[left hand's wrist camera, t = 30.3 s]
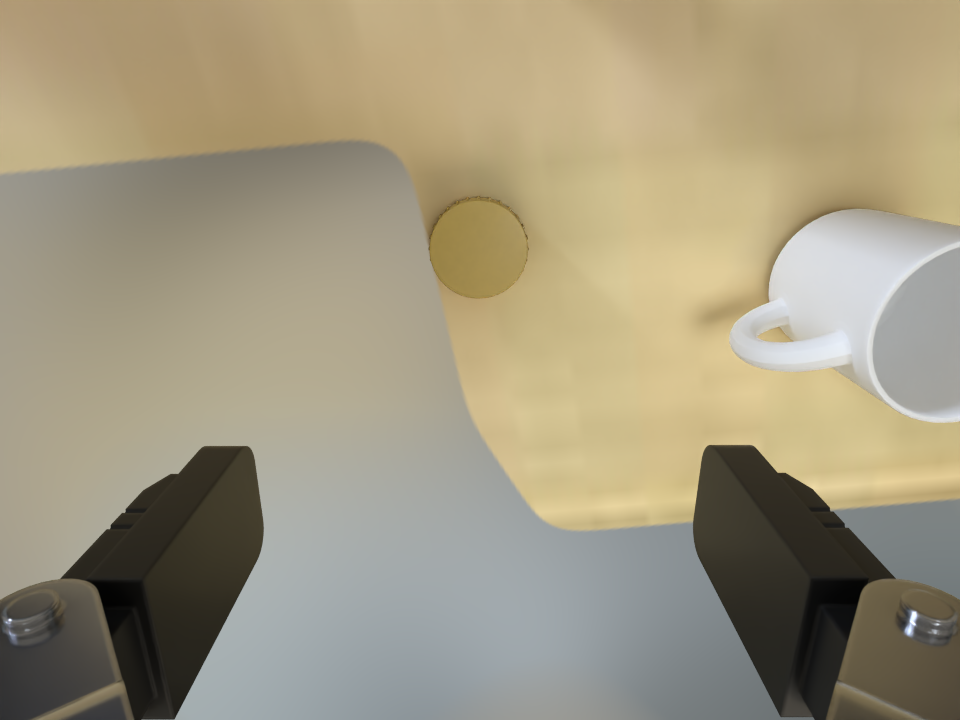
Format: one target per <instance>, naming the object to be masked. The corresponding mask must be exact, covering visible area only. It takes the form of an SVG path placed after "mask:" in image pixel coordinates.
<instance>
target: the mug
mask: <svg viewBox="0 0 960 720" xmlns="http://www.w3.org/2000/svg"><path fill="white" fill-rule="evenodd" d="M776 327H780V328H781V329H782V330H783V332H784V333H785V334H786V335H787V336H788V337H789V338H790V339H791V340H793V341H794V342H768V341H764V340H761V339H759V338H757V336H758V335H760V334H762V333H764V332H766V331H768V330H770V329H773V328H776ZM729 343H730V346H731V348H732V350H733V352H734V353H735V354H736V355H737V356H738V357H739V358H740V359H742V360H743V361H745V362H746V363H748V364H750V365H752V366H755V367H759V368H762V369H767V370H773V371H783V372H802V371H813V370H821V369H826V368H833V369H835V370H836V371H838V372H839V373H841V374H842V375H844V376H845V377H847V378H848V379H850V380H851V381H853V382H854V383H855V384H857V385H858V386H860V387H861V388H863V389H864V390H866V391H867V392H869V393H870V394H872V395H873V396H875V397H876V398H878V399H879V400H881V401H882V402H884V403H885V404H887V405H888V406H890V407H891V408H893V409H895V410H896V411H898V412H899V413H901V414H903V415H906V416H908V417H910V418H914V419H917V420H921V421H928V422H942V423H947V422H957V421H960V226H956V225H951V224H946V223H941V222H936V221H931V220H926V219H921V218H916V217H911V216H905V215H900V214H895V213H890V212H885V211H879V210H872V209H848V210H841V211H836V212H832V213H830V214H827V215H824V216H822V217H820V218H818V219H816V220H814V221H812V222H811V223H809V224H808V225H806V226H805V227H803V228H802V229H801V230H800V231H799V232H797V233H796V234H795V235H794V236H793V237H792V238H791V239H790V240H789V241H788V243H787V244H786V245H785V247H784V248H783V249H782V251H781V253H780V254H779V256H778V258H777V260H776V262H775V264H774V266H773V270H772V273H771V276H770V282H769V303H766V304H764V305H761V306H759V307H757V308H755V309H753V310H751V311H749V312H748V313H746V314H745V315H743V316H742V317H741V318H740V319H739V320H737V322H736V323H735V324H734V325H733V327H732V330H731V332H730V337H729Z"/></svg>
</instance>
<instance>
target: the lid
mask: <svg viewBox="0 0 960 720" xmlns="http://www.w3.org/2000/svg"><path fill="white" fill-rule="evenodd" d="M518 219H519V217H518V215H515V214H514V213H513V212H512V211H511V208H510V207H506V206H505V205H503V204H502V203H501V201H499V202H498V201H495V200H492V199H491V197H489V198H481V197H480V196H478V197H476V198H469V197H467V199H465V200H462V201H456V204H454V205H452V206H451V207H449V206H448V207H447V209H446V211H445V212H444V213H443V214H442V215H441V214H440V216H439V220H438V222H437V224H434V226H433V228H434V230H433V233H432V234H431V236H430V239H431V240H430V246H429V250H430V261H431V263H432V266H433V268H434V271H435V272H436V274H437V276H438V277H439V279H440V280H441V281H442V282H443V283H444V284H445V285H446V286H447V287H448V288H449V289H451V290H452V291H454V292H455V293H458V294H460V295H462V296H465V297H470V298H488V297H492V296H495V295H498V294H500V293H502V292H504V291H505V290H507V289H508V288H509V287H511V286H512V285H513V284H514V283H515V282H516V281H517V279H518V278H519V276H520V275H521V273H522V272H523V269H524V267H525V264H526V261H527V253H528V250H529V248H528V246H527V239H528V237H527V235H526V234H525V232H524V226H523V224H521V223H520V221H519V220H518Z"/></svg>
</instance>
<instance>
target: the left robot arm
mask: <svg viewBox="0 0 960 720" xmlns="http://www.w3.org/2000/svg"><path fill="white" fill-rule="evenodd" d="M263 532H264V527H263V516H262V509H261V502H260V495H259V487H258V480H257V473H256V466H255V459H254V455H253V452H252V450H251V449H250V448H249V447H248V446H204V447H202V448H201V449H200V450H199V451H198V452H197V453H196V455H195V456H194V457H193V458H192V459H191V460H190V461H189V462H188V464H187V465H186V466H185V467H184V468H183V469H182V471H181V472H180V473H179V474H170V475H168V476H167V477H165V478H163V479H162V480H160V481H158V482H157V483H155V484H153V485H152V486H150V487H148V488H146V489H145V490H143V491H142V492H141V493H140V494H139V496H138V497H137V498H136V499H135V500H134V501H133V502H132V503H131V504H130V505H129V506H128V507H127V508H126V512H125V513H122V514H121V515H120V516H119V517H118V518H117V519H116V520H115V521H114V522H113V523H112V524H111V528H110V529H107V530H106V531H105V532H104V533H103V534H102V535H101V536H100V537H99V538H98V539H97V540H96V541H95V542H94V543H93V545H92V546H91V547H90V548H89V549H88V550H87V551H86V552H85V553H84V554H83V555H82V556H81V557H80V558H79V559H78V561H77V562H76V563H75V564H74V565H73V566H72V567H71V568H70V569H69V570H68V571H67V572H66V573H65V574H64V575H63V576H62V578H61V579H58V580H51V581H46V582H42V583H38V584H35V585H32V586H29V587H26V588H24V589H21V590H19V591H16V592H14V593H12V594H10V595H8V596H6V597H4V598H3V599H1V600H0V720H141V719H175V717H176V715H177V713H178V711H179V709H180V708H181V706H182V704H183V702H184V700H185V698H186V696H187V694H188V692H189V690H190V688H191V686H192V685H193V683H194V681H195V679H196V677H197V675H198V673H199V671H200V669H201V667H202V665H203V663H204V661H205V660H206V658H207V656H208V654H209V652H210V650H211V648H212V646H213V644H214V642H215V640H216V638H217V636H218V635H219V633H220V631H221V629H222V627H223V625H224V623H225V621H226V619H227V617H228V615H229V613H230V611H231V610H232V608H233V606H234V604H235V602H236V600H237V598H238V596H239V594H240V592H241V590H242V588H243V586H244V585H245V583H246V581H247V579H248V577H249V575H250V573H251V571H252V569H253V567H254V565H255V563H256V562H257V559H258V557H259V554H260V551H261V547H262V542H263ZM693 534H694V543H695V548H696V551H697V554H698V557H699V559H700V561H701V563H702V565H703V567H704V569H705V571H706V573H707V575H708V576H709V578H710V580H711V582H712V584H713V586H714V588H715V590H716V592H717V594H718V596H719V598H720V600H721V602H722V604H723V606H724V608H725V610H726V612H727V613H728V615H729V617H730V619H731V621H732V623H733V625H734V627H735V629H736V631H737V633H738V635H739V637H740V639H741V641H742V643H743V645H744V646H745V649H746V650H747V652H748V654H749V656H750V658H751V660H752V662H753V664H754V666H755V668H756V670H757V672H758V674H759V676H760V678H761V680H762V682H763V684H764V685H765V687H766V689H767V691H768V693H769V695H770V697H771V699H772V701H773V703H774V705H775V707H776V709H777V711H778V713H779V715H780V716H781V717H814V719H815V720H960V600H959V599H957V598H956V597H954V596H952V595H950V594H948V593H946V592H943V591H941V590H939V589H936V588H934V587H931V586H928V585H925V584H922V583H918V582H914V581H909V580H902V579H896V578H895V577H894V576H893V575H892V574H891V573H890V572H889V571H888V570H887V569H886V568H885V567H884V565H883V564H882V563H881V562H880V561H879V560H878V559H877V558H876V557H875V556H874V555H873V554H872V553H871V551H870V550H869V549H868V548H867V547H866V546H865V545H864V544H863V543H862V542H861V541H860V540H859V539H858V538H857V536H856V535H855V534H854V533H853V532H852V531H851V530H850V529H849V528H845V524H844V523H843V521H842V520H841V519H840V518H839V517H838V516H837V515H836V514H835V513H834V512H830V507H829V506H828V505H827V504H826V503H825V502H824V501H823V500H822V499H821V498H820V497H819V496H818V495H817V493H816V492H815V491H814V490H813V489H811V488H810V487H808V486H806V485H805V484H803V483H801V482H800V481H798V480H796V479H795V478H793V477H791V476H790V475H788V474H786V473H777V472H776V470H775V469H774V468H773V467H772V466H771V465H770V464H769V462H768V461H767V460H766V459H765V458H764V457H763V456H762V454H761V453H760V452H759V451H758V450H757V449H756V448H755V447H754V446H752V445H709V446H707V447H706V448H705V450H704V453H703V456H702V462H701V469H700V476H699V484H698V491H697V498H696V506H695V513H694V521H693Z"/></svg>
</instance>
